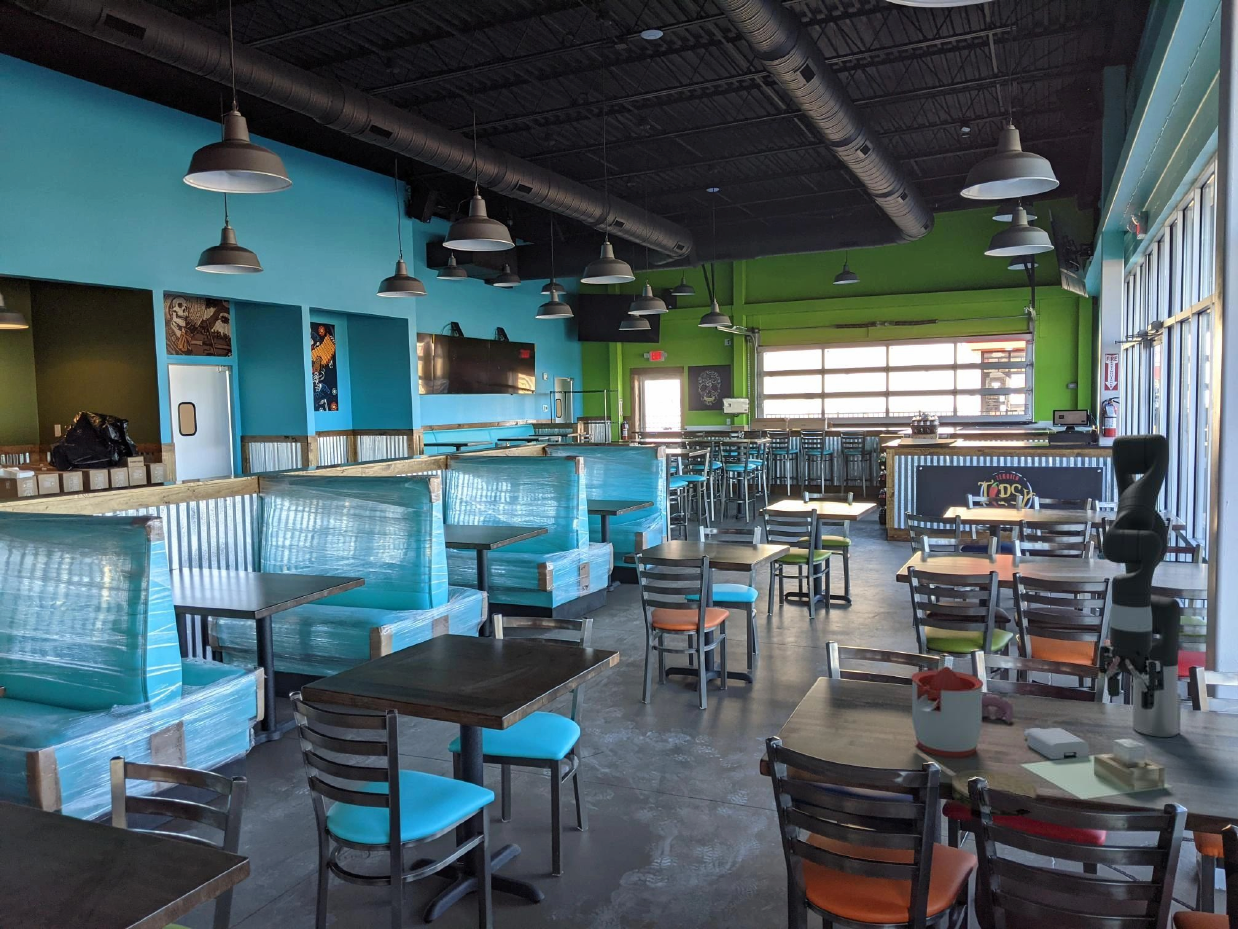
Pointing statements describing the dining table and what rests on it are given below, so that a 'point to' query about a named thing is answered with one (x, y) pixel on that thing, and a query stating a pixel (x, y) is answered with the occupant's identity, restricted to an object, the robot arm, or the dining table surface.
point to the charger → (1056, 743)
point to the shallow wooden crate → (1129, 774)
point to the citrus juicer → (947, 711)
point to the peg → (1129, 753)
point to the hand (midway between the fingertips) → (1130, 702)
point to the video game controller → (1001, 704)
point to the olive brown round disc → (991, 786)
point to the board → (1078, 777)
